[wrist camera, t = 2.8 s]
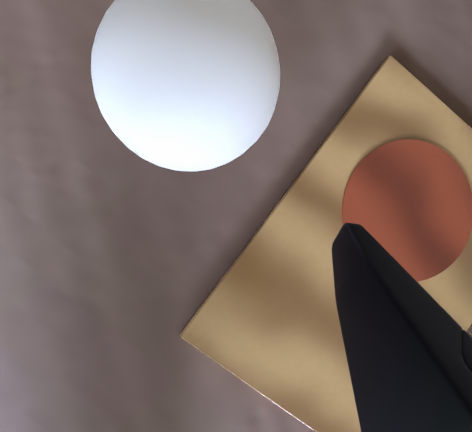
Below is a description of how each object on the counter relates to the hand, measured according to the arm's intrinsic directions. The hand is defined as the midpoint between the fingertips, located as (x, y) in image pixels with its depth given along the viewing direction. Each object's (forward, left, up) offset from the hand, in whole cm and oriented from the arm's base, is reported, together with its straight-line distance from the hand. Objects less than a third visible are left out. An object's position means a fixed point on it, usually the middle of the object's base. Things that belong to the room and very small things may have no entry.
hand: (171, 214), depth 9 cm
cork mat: (+5, -11, -11) cm, 17 cm away
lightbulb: (+4, +2, -11) cm, 12 cm away
